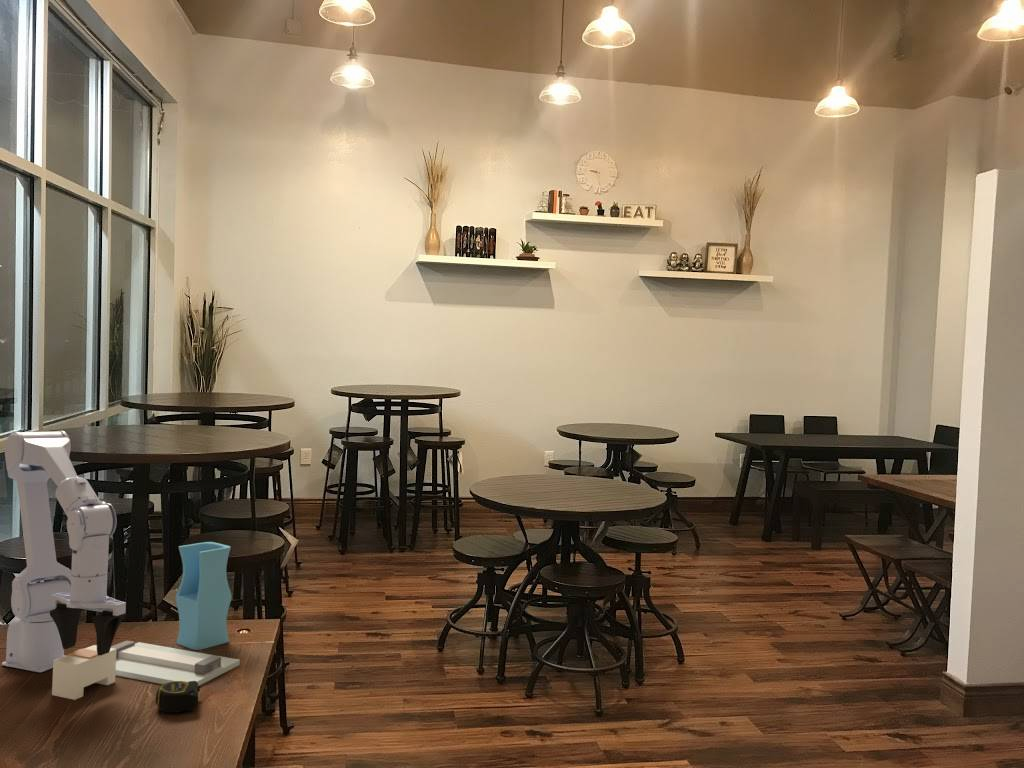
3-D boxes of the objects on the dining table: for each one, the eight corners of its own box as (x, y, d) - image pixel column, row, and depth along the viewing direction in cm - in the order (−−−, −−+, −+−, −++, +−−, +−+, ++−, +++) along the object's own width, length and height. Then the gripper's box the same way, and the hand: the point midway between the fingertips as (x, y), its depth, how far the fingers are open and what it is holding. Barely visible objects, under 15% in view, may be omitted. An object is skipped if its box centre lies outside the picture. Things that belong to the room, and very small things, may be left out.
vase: (173, 642, 172) (177, 546, 172) (206, 633, 178) (210, 541, 178) (196, 650, 167) (201, 552, 167) (229, 641, 174) (233, 546, 174)
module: (51, 695, 142) (53, 658, 142) (92, 677, 151) (94, 643, 151) (75, 699, 141) (76, 662, 141) (115, 681, 149) (116, 647, 149)
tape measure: (197, 715, 137) (198, 692, 137) (152, 718, 135) (154, 695, 135) (199, 699, 144) (200, 677, 144) (157, 702, 142) (158, 680, 142)
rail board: (83, 669, 154) (84, 654, 154) (138, 647, 168) (139, 633, 168) (191, 689, 147) (192, 674, 147) (239, 664, 161) (240, 650, 161)
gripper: (38, 573, 144) (34, 651, 144) (105, 583, 140) (101, 663, 140) (70, 565, 151) (67, 639, 151) (135, 574, 146) (132, 651, 146)
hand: (86, 650), depth 146 cm, fingers open, 7 cm apart
